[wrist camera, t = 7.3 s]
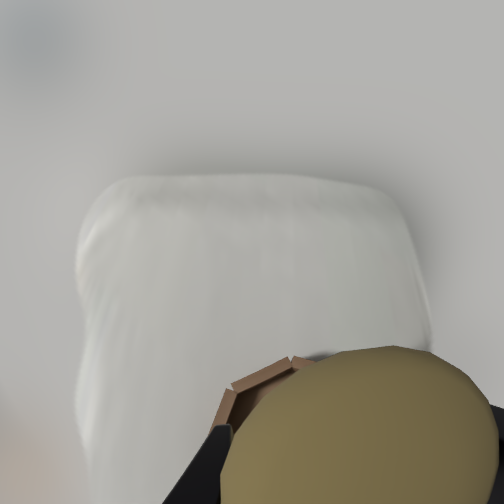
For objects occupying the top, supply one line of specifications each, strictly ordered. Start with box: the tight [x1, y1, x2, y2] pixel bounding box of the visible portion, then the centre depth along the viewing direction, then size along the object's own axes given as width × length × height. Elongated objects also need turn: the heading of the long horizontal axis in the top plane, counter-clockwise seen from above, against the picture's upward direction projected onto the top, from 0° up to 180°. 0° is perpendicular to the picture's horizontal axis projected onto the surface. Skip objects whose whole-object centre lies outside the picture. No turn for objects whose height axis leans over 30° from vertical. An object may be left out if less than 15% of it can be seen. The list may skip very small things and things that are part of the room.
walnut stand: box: [208, 356, 316, 435], centre depth 13 cm, size 9×9×2 cm
